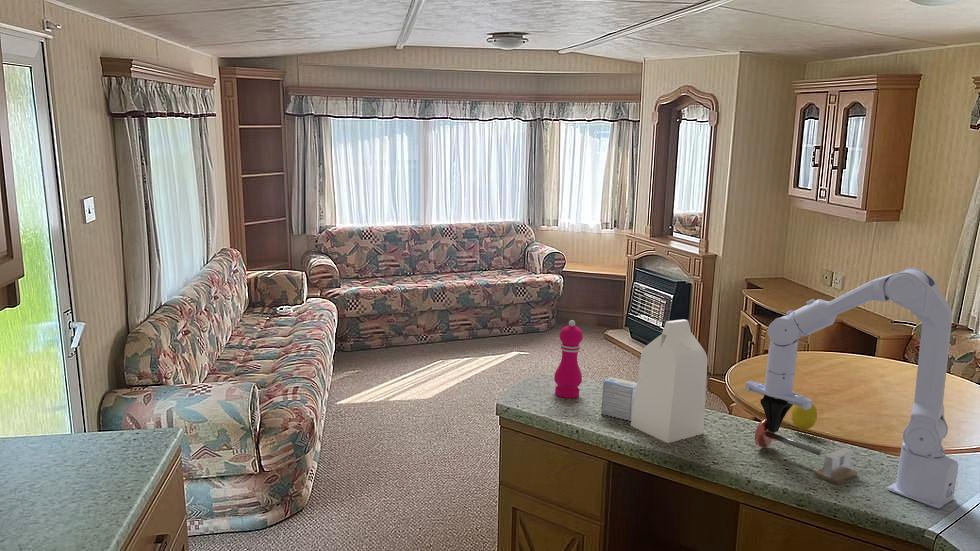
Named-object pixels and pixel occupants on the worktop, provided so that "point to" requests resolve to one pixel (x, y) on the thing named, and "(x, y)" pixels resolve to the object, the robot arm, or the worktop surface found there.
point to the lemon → (804, 417)
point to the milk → (671, 385)
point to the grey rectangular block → (618, 398)
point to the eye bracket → (837, 467)
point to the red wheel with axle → (766, 437)
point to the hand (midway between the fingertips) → (773, 430)
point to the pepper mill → (569, 362)
